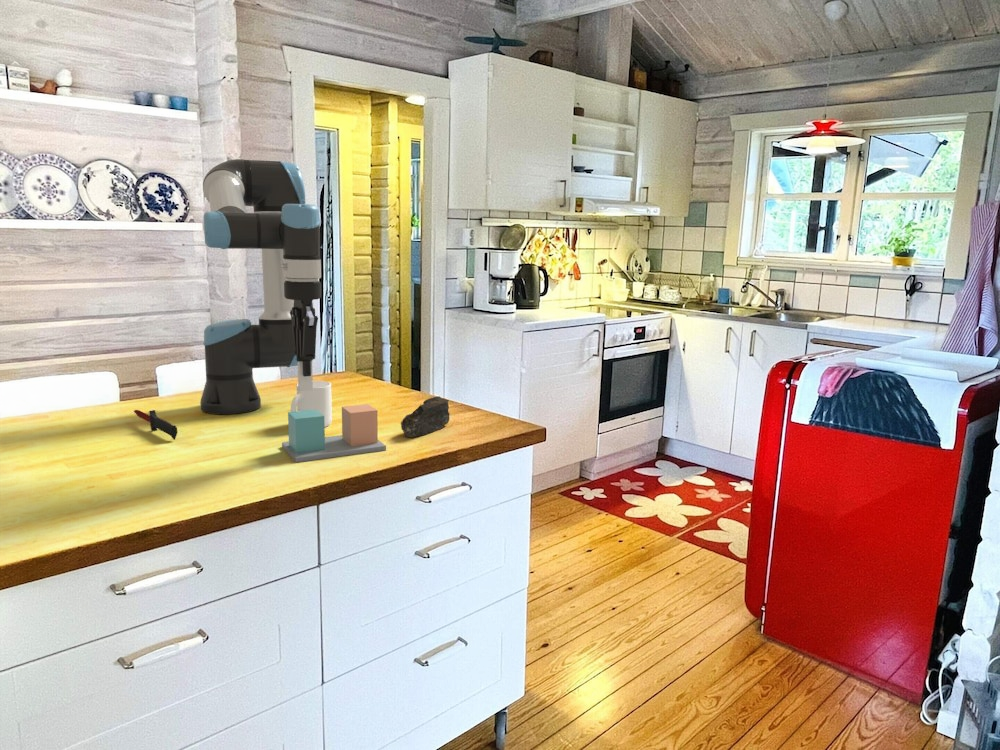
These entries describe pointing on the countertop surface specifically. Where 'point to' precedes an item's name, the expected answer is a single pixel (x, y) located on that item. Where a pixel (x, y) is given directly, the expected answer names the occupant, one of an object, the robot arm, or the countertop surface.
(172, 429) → the knife
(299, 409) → the mug
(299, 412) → the teal upright block
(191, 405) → the countertop surface
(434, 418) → the stone
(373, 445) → the grey base with blocks
